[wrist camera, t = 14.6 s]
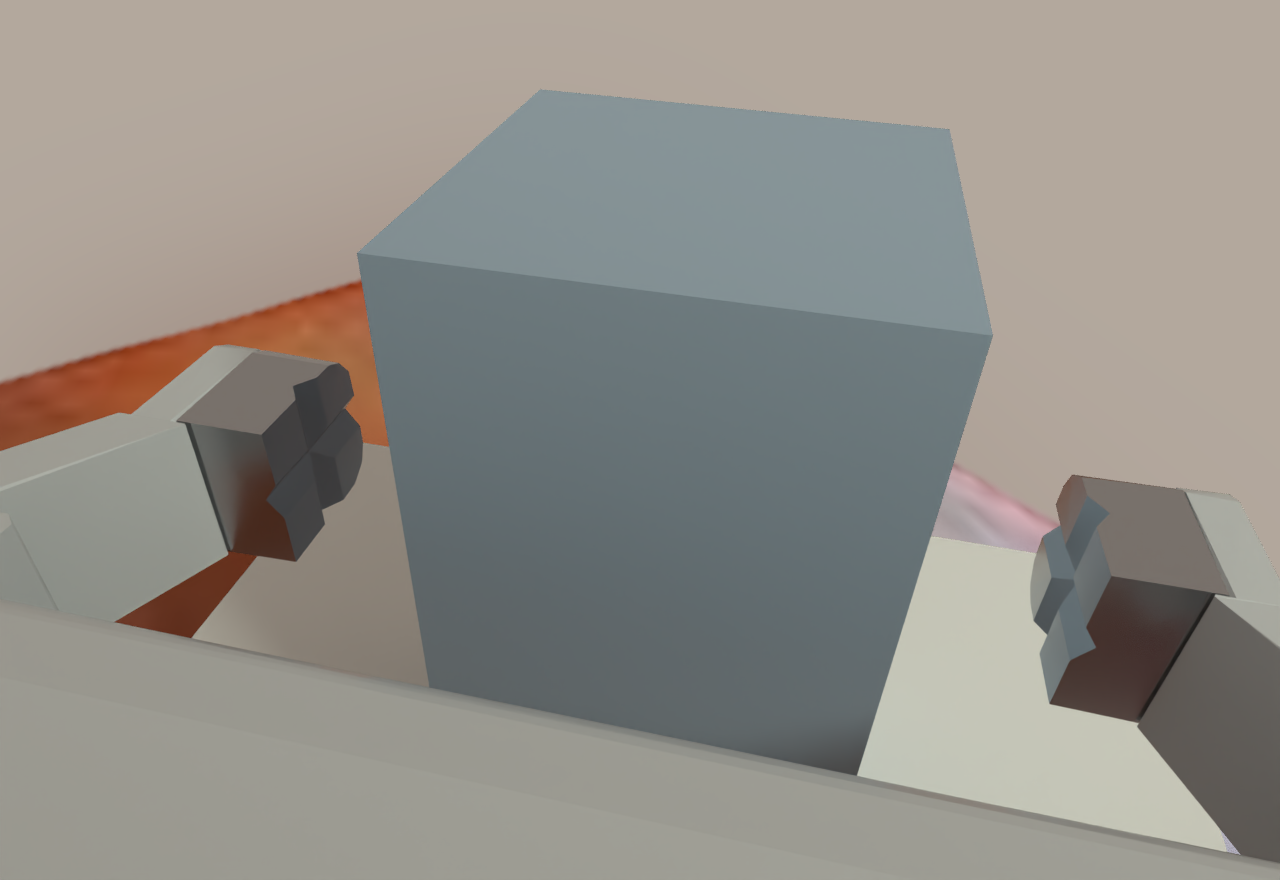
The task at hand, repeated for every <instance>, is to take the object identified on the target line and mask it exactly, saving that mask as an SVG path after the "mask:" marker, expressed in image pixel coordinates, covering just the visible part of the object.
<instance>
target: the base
mask: <svg viewBox="0 0 1280 880" xmlns="http://www.w3.org/2000/svg"><path fill="white" fill-rule="evenodd" d="M322 512H323V516H324V521H325V525H324V526H323V528H322V529H321V530H320V532H319V533H318V534H317V535H316V537H315V538H314V539H313V541H312V542H311V543H310V545H309V546H308V547H307V549H306V550H305V551H304V552H303V554H302V555H301V556H300V558H299V559H298V560H297V562H293V561H287V560H280V559H274V558H268V557H262V556H257V558H256V559H255V560H254V561H253V562H252V564H251V565H250V566H249V567H248V569H247V570H246V571H245V572H244V574H243V575H242V576H241V577H240V579H239V580H238V581H237V582H236V583H235V585H234V586H233V587H232V588H231V590H230V591H229V592H228V593H227V595H226V596H225V597H224V598H223V600H222V601H221V602H220V603H219V604H218V606H217V607H216V608H215V609H214V611H213V612H212V613H211V614H210V616H209V617H208V618H207V619H206V621H205V622H204V623H203V624H202V626H201V627H200V628H199V629H198V630H197V632H196V633H195V634H194V635H193V637H192V638H193V639H198V640H202V641H207V642H212V643H217V644H222V645H227V646H231V647H236V648H241V649H246V650H251V651H256V652H260V653H265V654H270V655H275V656H280V657H285V658H289V659H294V660H299V661H304V662H309V663H314V664H319V665H323V666H328V667H333V668H338V669H343V670H348V671H352V672H357V673H362V674H367V675H372V676H377V677H381V678H386V679H391V680H396V681H401V682H406V683H411V684H415V685H420V686H425V687H429V682H428V676H427V670H426V664H425V658H424V652H423V646H422V640H421V634H420V628H419V622H418V616H417V610H416V604H415V598H414V592H413V586H412V580H411V574H410V568H409V562H408V556H407V550H406V544H405V538H404V532H403V526H402V520H401V514H400V508H399V502H398V496H397V490H396V484H395V478H394V472H393V466H392V460H391V454H390V448H389V447H386V446H380V445H374V444H368V443H363V454H362V464H361V467H360V470H359V473H358V476H357V479H356V482H355V484H354V486H353V487H352V489H351V490H350V491H349V493H348V494H347V496H346V497H345V498H344V500H342V501H340V502H338V503H336V504H334V505H332V506H329V507H327V508H325V509H323V510H322ZM1036 554H1037V553H1031V552H1025V551H1019V550H1013V549H1007V548H1001V547H995V546H988V545H982V544H976V543H970V542H964V541H958V540H952V539H946V538H940V537H934V536H931V538H930V541H929V544H928V547H927V551H926V554H925V557H924V560H923V564H922V567H921V570H920V573H919V576H918V580H917V583H916V586H915V589H914V593H913V596H912V599H911V602H910V606H909V609H908V612H907V615H906V619H905V622H904V625H903V628H902V632H901V635H900V638H899V641H898V644H897V648H896V651H895V654H894V657H893V661H892V664H891V667H890V670H889V674H888V677H887V680H886V683H885V687H884V690H883V693H882V696H881V700H880V703H879V706H878V709H877V712H876V716H875V719H874V722H873V725H872V729H871V732H870V735H869V738H868V742H867V745H866V748H865V751H864V755H863V758H862V761H861V764H860V768H859V771H858V774H857V776H860V777H865V778H870V779H874V780H879V781H884V782H889V783H894V784H898V785H903V786H908V787H913V788H918V789H922V790H927V791H932V792H937V793H941V794H946V795H951V796H956V797H961V798H965V799H970V800H975V801H980V802H985V803H990V804H995V805H999V806H1004V807H1009V808H1014V809H1019V810H1024V811H1029V812H1034V813H1039V814H1044V815H1048V816H1053V817H1058V818H1063V819H1068V820H1073V821H1078V822H1083V823H1088V824H1093V825H1097V826H1102V827H1107V828H1112V829H1117V830H1122V831H1127V832H1132V833H1137V834H1142V835H1146V836H1151V837H1156V838H1161V839H1166V840H1171V841H1176V842H1180V843H1185V844H1190V845H1195V846H1200V847H1205V848H1210V849H1214V850H1219V851H1224V852H1227V849H1226V846H1225V843H1224V840H1223V837H1222V834H1221V831H1220V828H1219V827H1218V826H1217V825H1216V823H1215V822H1214V821H1213V820H1212V818H1211V817H1210V816H1209V815H1208V814H1207V812H1206V811H1205V810H1204V809H1203V807H1202V806H1201V805H1200V804H1199V802H1198V801H1197V800H1196V799H1195V798H1194V796H1193V795H1192V794H1191V793H1190V791H1189V790H1188V789H1187V788H1186V786H1185V785H1184V784H1183V783H1182V782H1181V780H1180V779H1179V778H1178V777H1177V775H1176V774H1175V773H1174V772H1173V770H1172V769H1171V768H1170V767H1169V766H1168V764H1167V763H1166V762H1165V761H1164V759H1163V758H1162V757H1161V756H1160V754H1159V753H1158V752H1157V751H1156V750H1155V748H1154V747H1153V746H1152V745H1151V743H1150V742H1149V741H1148V740H1147V739H1146V737H1145V736H1144V735H1143V734H1142V732H1141V731H1140V730H1139V729H1138V727H1137V725H1138V724H1139V723H1135V722H1131V721H1126V720H1121V719H1117V718H1112V717H1107V716H1103V715H1098V714H1093V713H1089V712H1084V711H1079V710H1075V709H1070V708H1065V707H1061V706H1056V705H1051V704H1049V700H1048V695H1047V690H1046V685H1045V680H1044V674H1043V669H1042V664H1041V659H1040V654H1039V653H1040V651H1041V648H1042V646H1043V644H1044V642H1045V639H1046V637H1047V634H1046V633H1045V632H1044V631H1043V630H1042V629H1041V628H1040V627H1039V626H1038V625H1037V624H1036V623H1035V622H1034V621H1033V615H1032V609H1031V603H1030V582H1031V576H1032V570H1033V565H1034V559H1035V557H1036Z"/></svg>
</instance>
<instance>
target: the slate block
mask: <svg viewBox="0 0 1280 880" xmlns="http://www.w3.org/2000/svg"><path fill="white" fill-rule="evenodd" d="M357 256H358V262H359V268H360V274H361V280H362V286H363V292H364V298H365V304H366V310H367V316H368V322H369V328H370V334H371V340H372V346H373V352H374V358H375V364H376V370H377V376H378V382H379V388H380V394H381V400H382V406H383V412H384V418H385V424H386V430H387V436H388V442H389V448H390V454H391V460H392V466H393V472H394V478H395V484H396V490H397V496H398V502H399V508H400V514H401V520H402V526H403V532H404V538H405V544H406V550H407V556H408V562H409V568H410V574H411V580H412V586H413V592H414V598H415V604H416V610H417V616H418V622H419V628H420V634H421V640H422V646H423V652H424V658H425V664H426V670H427V676H428V682H429V687H430V688H435V689H440V690H445V691H449V692H454V693H459V694H464V695H469V696H474V697H479V698H483V699H488V700H493V701H498V702H503V703H508V704H513V705H517V706H522V707H527V708H532V709H537V710H542V711H547V712H551V713H556V714H561V715H566V716H571V717H576V718H581V719H585V720H590V721H595V722H600V723H605V724H610V725H615V726H619V727H624V728H629V729H634V730H639V731H644V732H649V733H653V734H658V735H663V736H668V737H673V738H678V739H683V740H687V741H692V742H697V743H702V744H707V745H711V746H716V747H721V748H726V749H731V750H735V751H740V752H745V753H750V754H754V755H759V756H764V757H769V758H774V759H778V760H783V761H788V762H793V763H798V764H802V765H807V766H812V767H817V768H822V769H826V770H831V771H836V772H841V773H846V774H850V775H855V776H857V774H858V771H859V768H860V764H861V761H862V758H863V755H864V751H865V748H866V745H867V742H868V738H869V735H870V732H871V729H872V725H873V722H874V719H875V716H876V712H877V709H878V706H879V703H880V700H881V696H882V693H883V690H884V687H885V683H886V680H887V677H888V674H889V670H890V667H891V664H892V661H893V657H894V654H895V651H896V648H897V644H898V641H899V638H900V635H901V632H902V628H903V625H904V622H905V619H906V615H907V612H908V609H909V606H910V602H911V599H912V596H913V593H914V589H915V586H916V583H917V580H918V576H919V573H920V570H921V567H922V564H923V560H924V557H925V554H926V551H927V547H928V544H929V541H930V538H931V534H932V531H933V528H934V525H935V521H936V518H937V515H938V512H939V508H940V505H941V502H942V499H943V496H944V492H945V489H946V486H947V483H948V479H949V476H950V473H951V470H952V466H953V463H954V460H955V457H956V453H957V450H958V447H959V444H960V440H961V437H962V434H963V431H964V427H965V424H966V421H967V418H968V415H969V411H970V408H971V405H972V402H973V398H974V395H975V392H976V388H977V385H978V382H979V379H980V376H981V372H982V369H983V366H984V363H985V359H986V356H987V353H988V350H989V347H990V343H991V340H992V337H993V334H992V329H991V324H990V320H989V315H988V310H987V305H986V301H985V296H984V291H983V286H982V282H981V277H980V272H979V268H978V263H977V258H976V253H975V248H974V244H973V239H972V235H971V230H970V225H969V220H968V216H967V211H966V206H965V201H964V197H963V192H962V187H961V182H960V177H959V173H958V168H957V163H956V159H955V154H954V149H953V144H952V140H951V135H950V130H949V129H941V128H930V127H920V126H910V125H900V124H889V123H878V122H868V121H858V120H848V119H838V118H827V117H817V116H806V115H796V114H785V113H776V112H766V111H756V110H744V109H735V108H725V107H713V106H703V105H694V104H693V105H692V104H684V103H673V102H663V101H653V100H642V99H632V98H622V97H612V96H601V95H591V94H581V93H570V92H560V91H550V90H539V91H538V92H537V93H536V94H535V95H534V96H532V97H531V98H530V99H529V100H528V101H527V102H526V103H525V104H524V105H522V106H521V107H520V108H519V109H518V110H517V111H516V112H515V113H514V114H512V115H511V116H510V117H509V118H508V119H507V120H506V121H505V122H503V123H502V124H501V125H500V126H499V127H498V128H497V129H496V130H494V131H493V132H492V133H491V134H490V135H489V136H488V137H486V138H485V139H484V140H483V141H482V142H481V143H480V144H479V145H478V146H476V147H475V148H474V149H473V150H472V151H471V152H470V153H469V154H467V155H466V156H465V157H464V158H463V159H462V160H461V161H460V162H458V163H457V164H456V165H455V166H454V167H453V168H452V169H451V170H449V172H447V173H446V174H445V175H444V176H443V177H442V178H441V179H439V180H438V181H437V182H436V183H435V184H434V185H433V186H432V187H430V188H429V189H428V190H427V191H426V192H425V193H424V194H423V195H421V196H420V197H419V198H418V199H417V200H416V201H415V202H414V203H413V204H411V205H410V206H409V207H408V208H407V209H406V210H405V211H404V212H402V213H401V214H400V215H399V216H398V217H397V218H396V219H395V220H393V221H392V222H391V223H390V224H389V225H388V226H387V227H386V228H384V229H383V230H382V231H381V232H380V233H379V234H378V235H377V236H376V237H374V239H372V240H371V241H370V242H369V243H368V244H367V245H365V246H364V247H363V248H362V249H361V250H360V251H359V252H358V253H357Z"/></svg>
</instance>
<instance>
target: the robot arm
mask: <svg viewBox="0 0 1280 880" xmlns="http://www.w3.org/2000/svg"><path fill="white" fill-rule="evenodd" d="M353 396H354V393H353V388H352V384H351V380H350V376H349V371H348V370H346V369H345V368H344V367H343V366H342V365H340V364H339V363H335V362H329V361H323V360H317V359H312V358H306V357H300V356H294V355H289V354H283V353H277V352H271V351H261V350H259V349H253V348H246V347H240V346H233V345H220V346H214V347H213V348H211V349H210V350H209V351H208V352H207V353H205V354H204V355H203V356H202V357H200V358H199V359H198V360H197V361H196V362H194V363H193V364H192V365H191V366H190V367H188V368H187V369H186V370H185V371H183V372H182V373H181V374H180V375H179V376H177V377H176V378H175V379H174V380H172V381H171V382H170V383H169V384H168V385H166V386H165V387H164V388H163V389H162V390H160V391H159V392H158V393H157V394H155V395H154V396H153V397H152V398H151V399H149V400H148V401H147V402H146V403H145V404H143V405H142V406H141V407H140V408H138V409H137V410H136V411H135V412H134V413H132V414H124V413H117V414H113V415H110V416H107V417H104V418H101V419H98V420H95V421H92V422H89V423H86V424H83V425H80V426H77V427H74V428H70V429H67V430H64V431H61V432H58V433H55V434H52V435H49V436H46V437H43V438H40V439H37V440H34V441H31V442H27V443H24V444H21V445H18V446H15V447H12V448H9V449H6V450H3V451H0V880H1280V579H1279V577H1278V575H1277V573H1276V571H1275V569H1274V567H1273V565H1272V563H1271V561H1270V559H1269V557H1268V556H1267V554H1266V552H1265V550H1264V548H1263V546H1262V544H1261V542H1260V540H1259V538H1258V536H1257V534H1256V532H1255V530H1254V528H1253V526H1252V525H1251V523H1250V521H1249V519H1248V517H1247V515H1246V513H1245V511H1244V509H1243V507H1242V505H1241V503H1240V502H1239V501H1238V500H1237V499H1236V498H1234V497H1233V496H1231V495H1230V494H1223V493H1215V492H1207V491H1198V490H1190V489H1181V488H1176V489H1173V488H1165V487H1158V486H1151V485H1143V484H1137V483H1129V482H1122V481H1114V480H1107V479H1100V478H1092V477H1085V476H1079V475H1072V476H1071V477H1070V478H1069V480H1068V481H1067V482H1066V484H1065V485H1064V486H1063V489H1062V491H1061V494H1060V496H1059V498H1058V501H1057V503H1056V507H1057V512H1058V516H1059V520H1060V524H1061V525H1060V526H1059V527H1057V528H1055V529H1054V530H1052V531H1051V532H1049V533H1047V534H1046V535H1044V536H1043V537H1042V540H1041V543H1040V546H1039V548H1038V551H1037V554H1036V557H1035V559H1034V565H1033V570H1032V576H1031V582H1030V603H1031V609H1032V615H1033V621H1034V622H1035V623H1036V624H1037V625H1038V626H1039V627H1040V628H1041V629H1042V630H1043V631H1044V632H1045V633H1046V634H1047V637H1046V639H1045V642H1044V644H1043V646H1042V648H1041V651H1040V653H1039V654H1040V659H1041V664H1042V669H1043V674H1044V680H1045V685H1046V690H1047V695H1048V700H1049V704H1051V705H1056V706H1061V707H1065V708H1070V709H1075V710H1079V711H1084V712H1089V713H1093V714H1098V715H1103V716H1107V717H1112V718H1117V719H1121V720H1126V721H1131V722H1135V723H1139V724H1138V725H1137V727H1138V729H1139V730H1140V731H1141V732H1142V734H1143V735H1144V736H1145V737H1146V739H1147V740H1148V741H1149V742H1150V743H1151V745H1152V746H1153V747H1154V748H1155V750H1156V751H1157V752H1158V753H1159V754H1160V756H1161V757H1162V758H1163V759H1164V761H1165V762H1166V763H1167V764H1168V766H1169V767H1170V768H1171V769H1172V770H1173V772H1174V773H1175V774H1176V775H1177V777H1178V778H1179V779H1180V780H1181V782H1182V783H1183V784H1184V785H1185V786H1186V788H1187V789H1188V790H1189V791H1190V793H1191V794H1192V795H1193V796H1194V798H1195V799H1196V800H1197V801H1198V802H1199V804H1200V805H1201V806H1202V807H1203V809H1204V810H1205V811H1206V812H1207V814H1208V815H1209V816H1210V817H1211V818H1212V820H1213V821H1214V822H1215V823H1216V825H1217V826H1218V827H1219V828H1220V830H1221V831H1222V832H1223V833H1224V834H1225V836H1226V837H1227V838H1228V839H1229V841H1230V842H1231V843H1232V844H1233V846H1234V847H1235V848H1236V849H1237V850H1238V852H1239V853H1240V854H1241V855H1239V854H1234V853H1229V852H1224V851H1219V850H1214V849H1210V848H1205V847H1200V846H1195V845H1190V844H1185V843H1180V842H1176V841H1171V840H1166V839H1161V838H1156V837H1151V836H1146V835H1142V834H1137V833H1132V832H1127V831H1122V830H1117V829H1112V828H1107V827H1102V826H1097V825H1093V824H1088V823H1083V822H1078V821H1073V820H1068V819H1063V818H1058V817H1053V816H1048V815H1044V814H1039V813H1034V812H1029V811H1024V810H1019V809H1014V808H1009V807H1004V806H999V805H995V804H990V803H985V802H980V801H975V800H970V799H965V798H961V797H956V796H951V795H946V794H941V793H937V792H932V791H927V790H922V789H918V788H913V787H908V786H903V785H898V784H894V783H889V782H884V781H879V780H874V779H870V778H865V777H860V776H855V775H850V774H846V773H841V772H836V771H831V770H826V769H822V768H817V767H812V766H807V765H802V764H798V763H793V762H788V761H783V760H778V759H774V758H769V757H764V756H759V755H754V754H750V753H745V752H740V751H735V750H731V749H726V748H721V747H716V746H711V745H707V744H702V743H697V742H692V741H687V740H683V739H678V738H673V737H668V736H663V735H658V734H653V733H649V732H644V731H639V730H634V729H629V728H624V727H619V726H615V725H610V724H605V723H600V722H595V721H590V720H585V719H581V718H576V717H571V716H566V715H561V714H556V713H551V712H547V711H542V710H537V709H532V708H527V707H522V706H517V705H513V704H508V703H503V702H498V701H493V700H488V699H483V698H479V697H474V696H469V695H464V694H459V693H454V692H449V691H445V690H440V689H435V688H430V687H425V686H420V685H415V684H411V683H406V682H401V681H396V680H391V679H386V678H381V677H377V676H372V675H367V674H362V673H357V672H352V671H348V670H343V669H338V668H333V667H328V666H323V665H319V664H314V663H309V662H304V661H299V660H294V659H289V658H285V657H280V656H275V655H270V654H265V653H260V652H256V651H251V650H246V649H241V648H236V647H231V646H227V645H222V644H217V643H212V642H207V641H202V640H198V639H193V638H188V637H183V636H178V635H173V634H168V633H164V632H159V631H154V630H149V629H144V628H139V627H135V626H130V625H125V624H120V623H115V621H117V620H118V619H120V618H122V617H124V616H125V615H127V614H129V613H130V612H132V611H134V610H135V609H137V608H139V607H141V606H142V605H144V604H146V603H147V602H149V601H151V600H152V599H154V598H156V597H158V596H159V595H161V594H163V593H164V592H166V591H168V590H169V589H171V588H173V587H175V586H176V585H178V584H180V583H181V582H183V581H185V580H186V579H188V578H190V577H192V576H193V575H195V574H197V573H198V572H200V571H202V570H203V569H205V568H207V567H208V566H210V565H212V564H214V563H215V562H217V561H219V560H220V559H222V558H224V557H225V556H227V555H228V551H230V552H236V553H243V554H249V555H255V556H262V557H268V558H274V559H280V560H287V561H293V562H297V560H298V559H299V558H300V556H301V555H302V554H303V552H304V551H305V550H306V549H307V547H308V546H309V545H310V543H311V542H312V541H313V539H314V538H315V537H316V535H317V534H318V533H319V532H320V530H321V529H322V528H323V526H324V525H325V521H324V516H323V512H322V510H323V509H325V508H327V507H329V506H332V505H334V504H336V503H338V502H340V501H342V500H344V498H345V497H346V496H347V494H348V493H349V491H350V490H351V489H352V487H353V486H354V484H355V482H356V479H357V476H358V473H359V470H360V467H361V464H362V454H363V441H362V435H361V429H360V426H359V424H358V423H357V422H356V421H355V420H354V418H353V417H352V416H351V415H350V414H349V413H348V411H347V410H346V409H345V408H346V406H347V405H348V404H349V402H350V401H351V399H352V398H353Z"/></svg>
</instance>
